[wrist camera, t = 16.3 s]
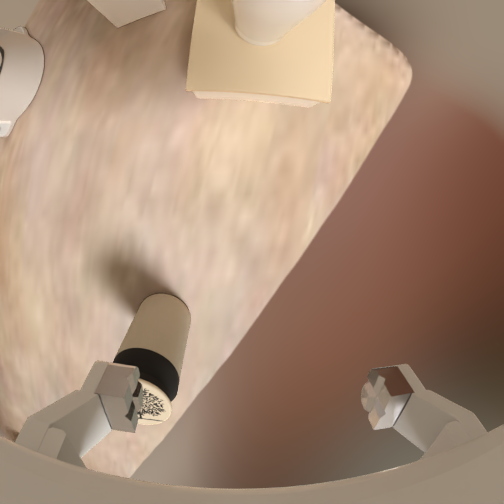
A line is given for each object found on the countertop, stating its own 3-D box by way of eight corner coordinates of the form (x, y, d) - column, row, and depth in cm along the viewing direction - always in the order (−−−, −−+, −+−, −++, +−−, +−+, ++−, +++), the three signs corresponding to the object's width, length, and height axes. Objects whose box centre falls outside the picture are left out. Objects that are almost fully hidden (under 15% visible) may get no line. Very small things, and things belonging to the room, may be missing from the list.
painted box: (195, 100, 34) (185, 89, 26) (206, 3, 29) (201, -25, 21) (311, 110, 35) (330, 102, 28) (316, 13, 30) (334, -11, 23)
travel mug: (140, 287, 42) (97, 368, 25) (194, 297, 43) (175, 386, 26) (139, 331, 44) (104, 417, 27) (188, 341, 45) (172, 432, 29)
